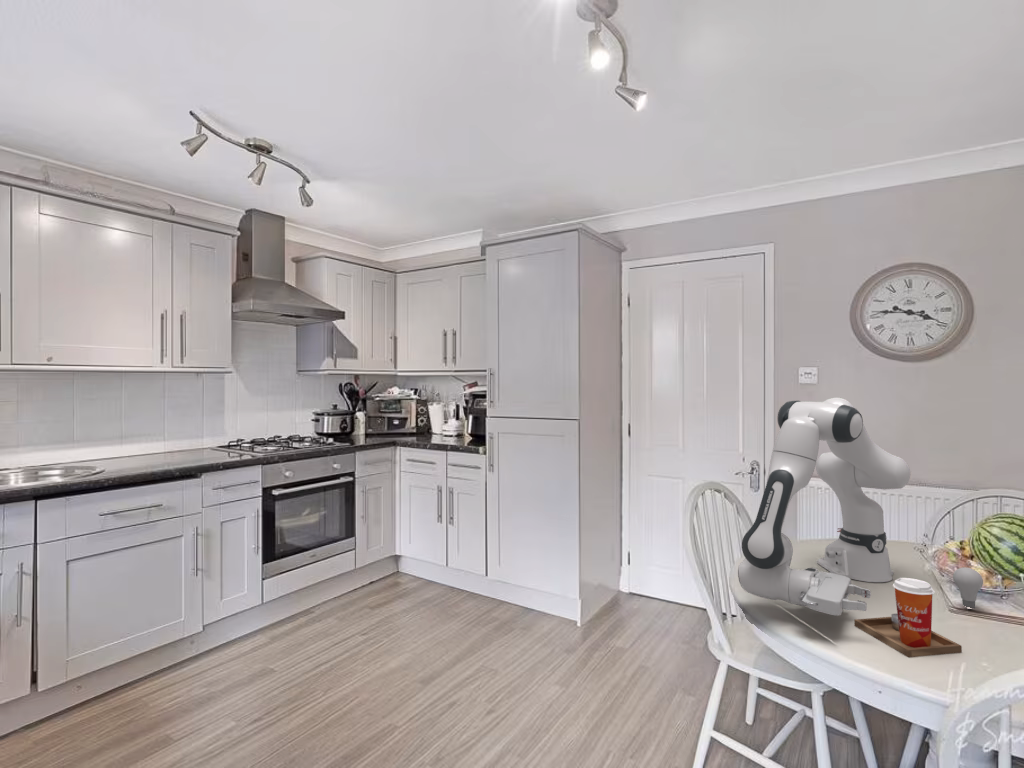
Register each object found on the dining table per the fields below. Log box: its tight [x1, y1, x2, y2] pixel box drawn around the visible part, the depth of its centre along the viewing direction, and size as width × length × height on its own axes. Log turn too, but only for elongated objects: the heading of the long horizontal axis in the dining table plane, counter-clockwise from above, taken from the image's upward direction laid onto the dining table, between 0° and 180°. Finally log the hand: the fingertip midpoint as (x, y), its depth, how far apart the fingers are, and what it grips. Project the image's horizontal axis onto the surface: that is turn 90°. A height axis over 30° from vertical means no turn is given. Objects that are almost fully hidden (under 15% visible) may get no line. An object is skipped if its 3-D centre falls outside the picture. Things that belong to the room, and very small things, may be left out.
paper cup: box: [892, 577, 936, 648], centre depth 123 cm, size 8×8×14 cm
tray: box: [853, 616, 963, 658], centre depth 126 cm, size 16×13×2 cm
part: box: [890, 613, 899, 631], centre depth 130 cm, size 4×4×3 cm
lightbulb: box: [952, 566, 984, 609], centre depth 142 cm, size 6×6×11 cm
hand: (868, 600), depth 129 cm, fingers open, 8 cm apart
